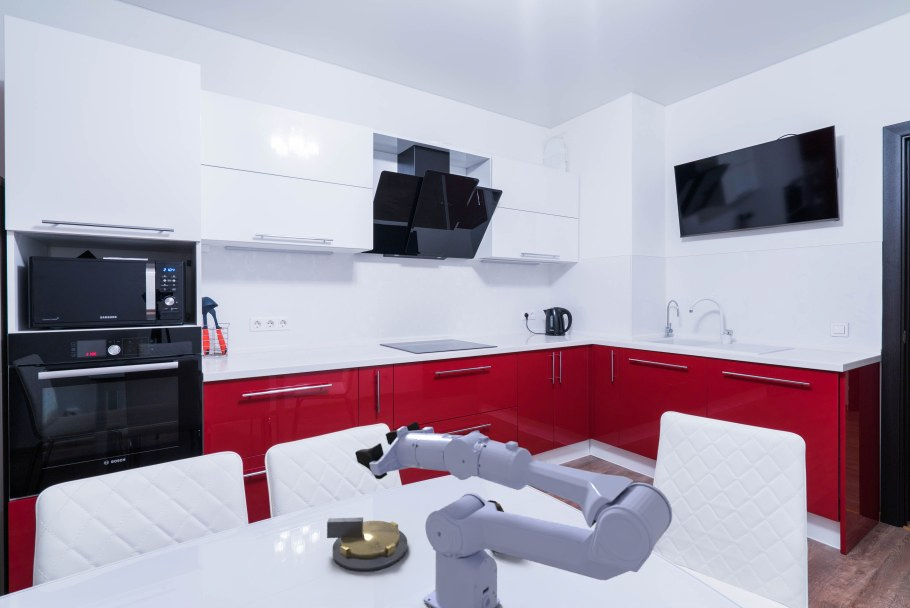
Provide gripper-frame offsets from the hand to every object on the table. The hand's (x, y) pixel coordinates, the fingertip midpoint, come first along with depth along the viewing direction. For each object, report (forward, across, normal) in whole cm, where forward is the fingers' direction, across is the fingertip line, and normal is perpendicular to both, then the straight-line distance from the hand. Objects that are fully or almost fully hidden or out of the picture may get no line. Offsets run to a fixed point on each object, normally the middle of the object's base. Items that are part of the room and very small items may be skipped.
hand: (373, 447), depth 84 cm
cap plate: (+5, +3, +20) cm, 20 cm away
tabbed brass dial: (+5, +3, +18) cm, 19 cm away
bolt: (-10, -17, +26) cm, 33 cm away
